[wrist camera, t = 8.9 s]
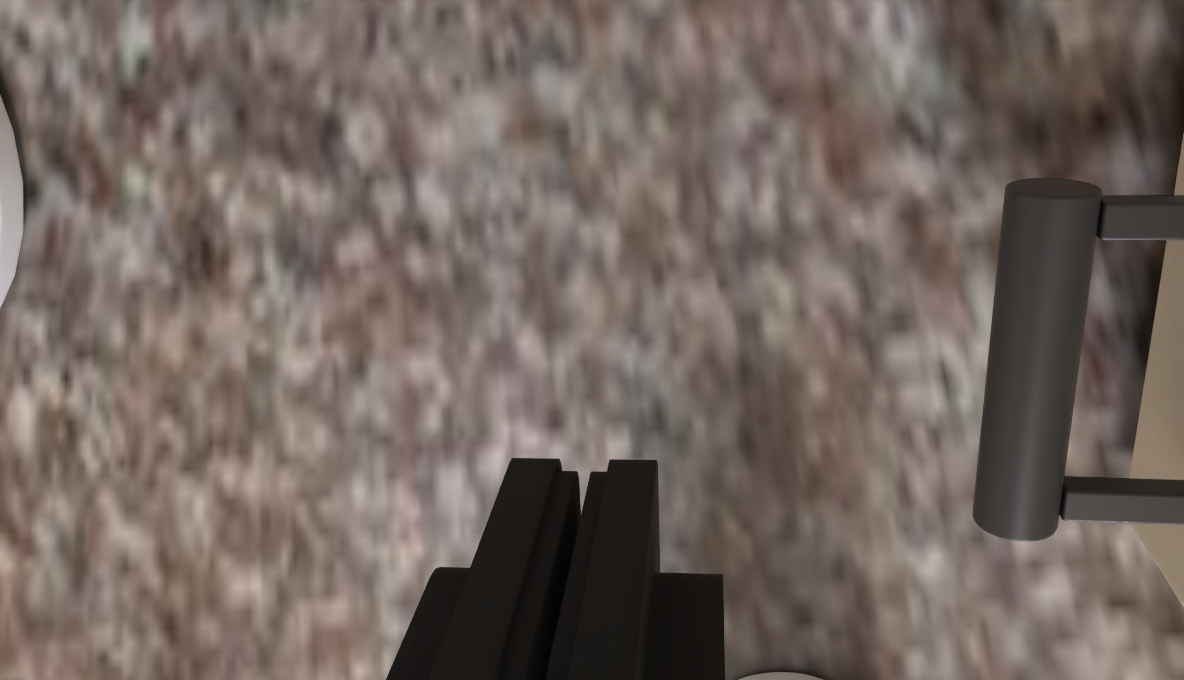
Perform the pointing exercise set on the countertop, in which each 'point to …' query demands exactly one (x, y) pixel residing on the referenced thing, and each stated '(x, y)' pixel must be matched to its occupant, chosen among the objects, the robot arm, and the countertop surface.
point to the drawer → (1050, 369)
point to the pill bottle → (780, 676)
